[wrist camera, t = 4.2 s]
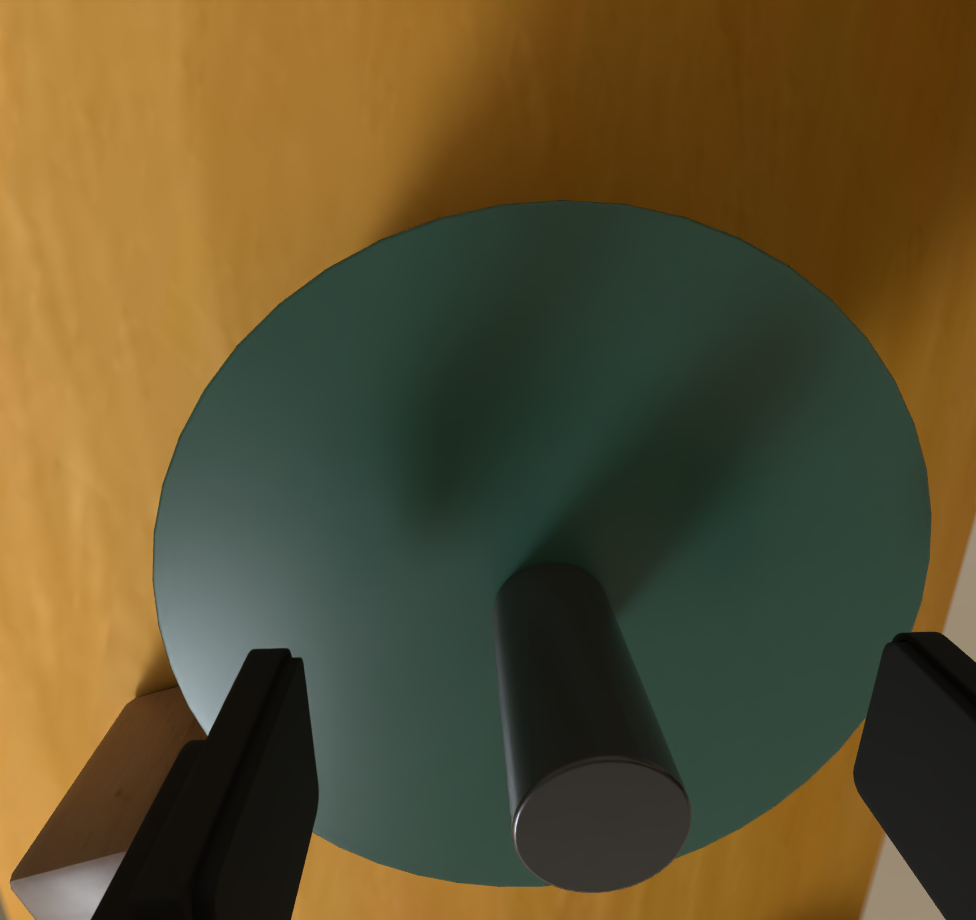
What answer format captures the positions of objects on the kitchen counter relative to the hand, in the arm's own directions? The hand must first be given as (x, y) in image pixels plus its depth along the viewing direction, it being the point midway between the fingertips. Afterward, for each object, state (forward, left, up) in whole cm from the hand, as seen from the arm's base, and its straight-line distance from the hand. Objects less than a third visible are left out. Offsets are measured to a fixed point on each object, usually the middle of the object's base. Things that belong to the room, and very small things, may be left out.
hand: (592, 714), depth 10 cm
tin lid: (0, 0, -3) cm, 3 cm away
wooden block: (-13, -12, -14) cm, 23 cm away
